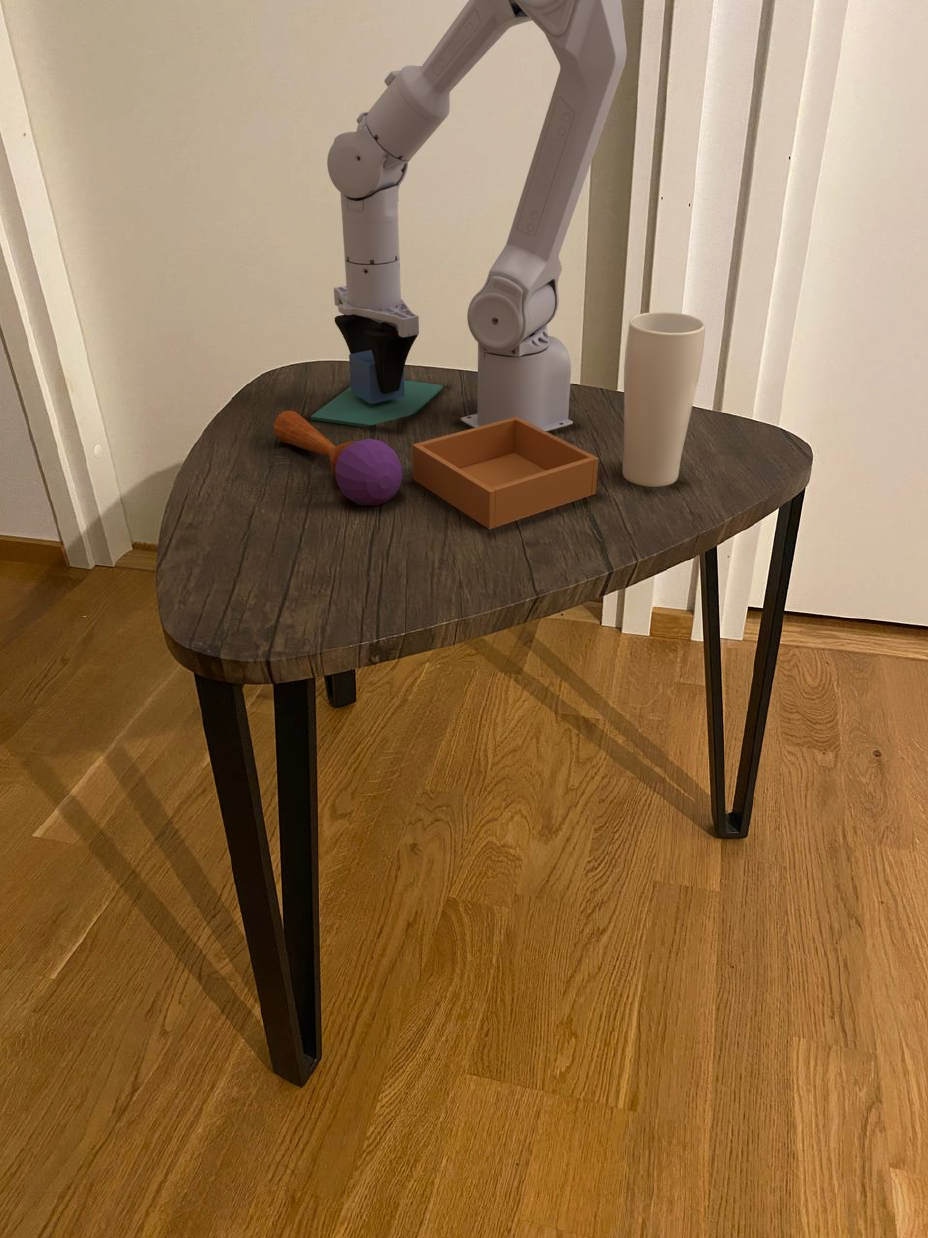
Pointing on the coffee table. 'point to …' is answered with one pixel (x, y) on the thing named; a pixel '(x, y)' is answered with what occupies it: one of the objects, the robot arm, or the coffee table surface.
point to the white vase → (659, 393)
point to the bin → (504, 471)
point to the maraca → (348, 460)
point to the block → (369, 379)
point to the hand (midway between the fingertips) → (378, 384)
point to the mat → (376, 406)
